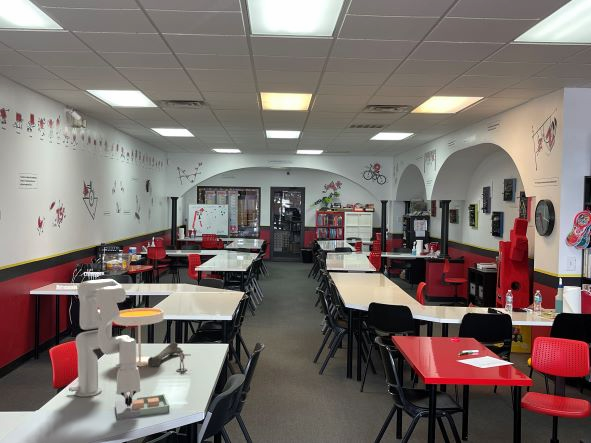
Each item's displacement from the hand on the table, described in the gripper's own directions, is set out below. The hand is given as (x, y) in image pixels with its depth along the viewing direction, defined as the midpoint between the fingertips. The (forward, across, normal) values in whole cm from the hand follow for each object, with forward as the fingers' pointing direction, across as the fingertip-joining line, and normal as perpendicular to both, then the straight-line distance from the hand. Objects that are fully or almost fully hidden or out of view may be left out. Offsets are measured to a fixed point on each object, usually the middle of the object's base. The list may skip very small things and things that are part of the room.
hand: (128, 405), depth 246 cm
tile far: (+1, +12, +6) cm, 13 cm away
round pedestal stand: (+4, +12, +88) cm, 89 cm away
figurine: (+4, +33, +60) cm, 68 cm away
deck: (+4, 0, +3) cm, 5 cm away
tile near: (+1, +4, 0) cm, 4 cm away
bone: (+4, +26, +87) cm, 91 cm away
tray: (+4, +11, +3) cm, 12 cm away
